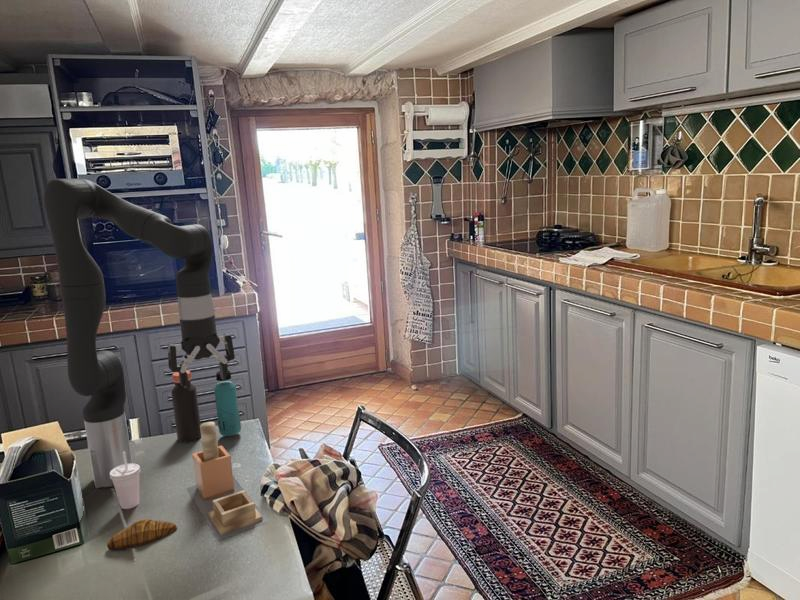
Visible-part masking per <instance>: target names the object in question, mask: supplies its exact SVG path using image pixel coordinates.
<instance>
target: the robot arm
mask: <svg viewBox="0 0 800 600" xmlns="http://www.w3.org/2000/svg"><path fill="white" fill-rule="evenodd" d="M43 205H44V210H45V214H46V215H45V216H46V218H47V222H48V225H49V230H50V234H51V239H52V242H53V248H54V253H55V257H56V258H55V259H56V260H55V261H56V265H57V271H58V279H59V288H60V295H61V296H60V297H61V302H62V306H63V307H62V308H63V313H64V314H63V315H64V323H65V332H66V350H67V352H66V353H67V354H66V355H67V356H66V358H67V360H66V361H67V362H66V363H67V375H68V379H69V380H68V381H69V383H70V386H71V388H72V389H73V390H74V391H75V393H76V394H78V395H80V396H82V397H89V400H88V401H87V403H86V404H85V405H84V407H83V409H82V417H83V423H84V428H85V429H84V430H85V434H86V435H85V436H86V440H87V449H88V451H87V452H88V455H89V462H90V468H91V474H92V480H93V482H94V486H95V489H100V488H109V487H110V488H111V487H114V484H113V481H112V479H110V471H111V470H112V469H114V468H116V467H118V466H120V465H124V457H123V452H126V459H127V464H129V463H133V457H132V451H131V444H130V437H129V429H128V425H127V423H128V422H127V418H126V411H125V403H126V399H127V394H126V383H125V374H124V373H125V372H124V367H123V365H122V362H121V359H120V358H119V356H118V355H116V354H115V352H112V351H110V350H99V351H97V333H98V330H99V326H100V323H101V320H102V317H103V315H104V311H105V308H106V302H107V301H106V300H107V297H106V287H105V279H104V274H103V272H102V269H101V268H100V266H99V264H97V262H96V261H95V259H94V257H92V255H91V254H90V253H89V251H88V250H87V248H86V247H85V244H84V243H83V241H82V238H81V234H80V228H79V221H78V220H81V219H82V220H83V219H89V218H94V219H95V218H96V219H102V220H106V221H110V222H112V223H114V224H115V225H116V226H117V227H118V228H119V229H120V230H121V231H122V232H123V233H125V234H126V235H128V236H129V237H132V238H134V239H136V240H139V241H142V242H145V243H147V244H150V245H152V246H153V247H155V248H156V249H158V250H159V251H160V252H162V253H163V254H164V255H165V256H167V257H171V258H173V259H179V260H185V261H184V265H183V267H182V268H181V269H180V270H178V271H176V275H175V282H176V283H175V284H176V292H177V309H178V319H179V325H180V326H179V328H180V333H181V335H180V336H181V342H180V343H177V344H173V343H169V344H168V345H167V357H168V359H167V360H168V362H167V363H168V369H169V370H170V371H171V372H172V373H175V372H179V379H180V384H181V385H182V386H184V388H185V389H186V388H189V384H188V376H187V372H186V371H188V370H187V369H188V368H189V366H190V365H192V363H193V361H194V360H196V361H197V360H201V359H203V358H204V359H207V358H208V359H209V358H211V357H212V356H214V358H216V359H217V360H218V361H219V363H218V366H219V371H220V377H221V379H223V380H224V379H226V377H227V376H228V371H229V368H228V362H230V361H232V360H235V358H236V356H235V349H234V343H233V338H232V336H231V335H230V334H228V333H226V332H225V333H223V334H222V335H219V336H218V333H217V332H218V331H217V324H216V322H217V321H216V316H215V315H216V314H215V305H214V300H213V296H212V289H211V282H210V281H211V280H210V270H211V265H212V257H213V256H212V255H213V240H212V236H211V234H210V232H209V230H208V229H207V228H206V227H205V226H203V225H201V224H198V223H196V224H187V225H186V224H185V225H180V226H179V225H176V224H175V225H174V224H173V222H172V220H171V219H170V218H169V217H167V216H166V215H163V214H161V213H159V212H155V211H153V210H150V209H148V208H145V207H143V206H140V205H137V204H134V203H131V202H129V201H128V200H125V199H123V198H121V197H120V196H118V195H116V194H114V193H112V192H111V191H108V190H107V189H105V188H103V187H102V186H100V184H98V183H95V182H93V181H91V180H89V179H85V178H54V179H53V178H52V179H51V180H49V181H48V182H47V183H46V184H45V187H44V190H43ZM220 342H221V344H223V345H224V350H225V355H223V354H222V353H221V352H220V351H219V350H218V349H217V348H218V346H219V344H220ZM180 350H182V351H183V352H184V354H183V356H182V358H181V360H180V362H179V364H178V361H177V355H178V354H179V353H180Z"/></svg>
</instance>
